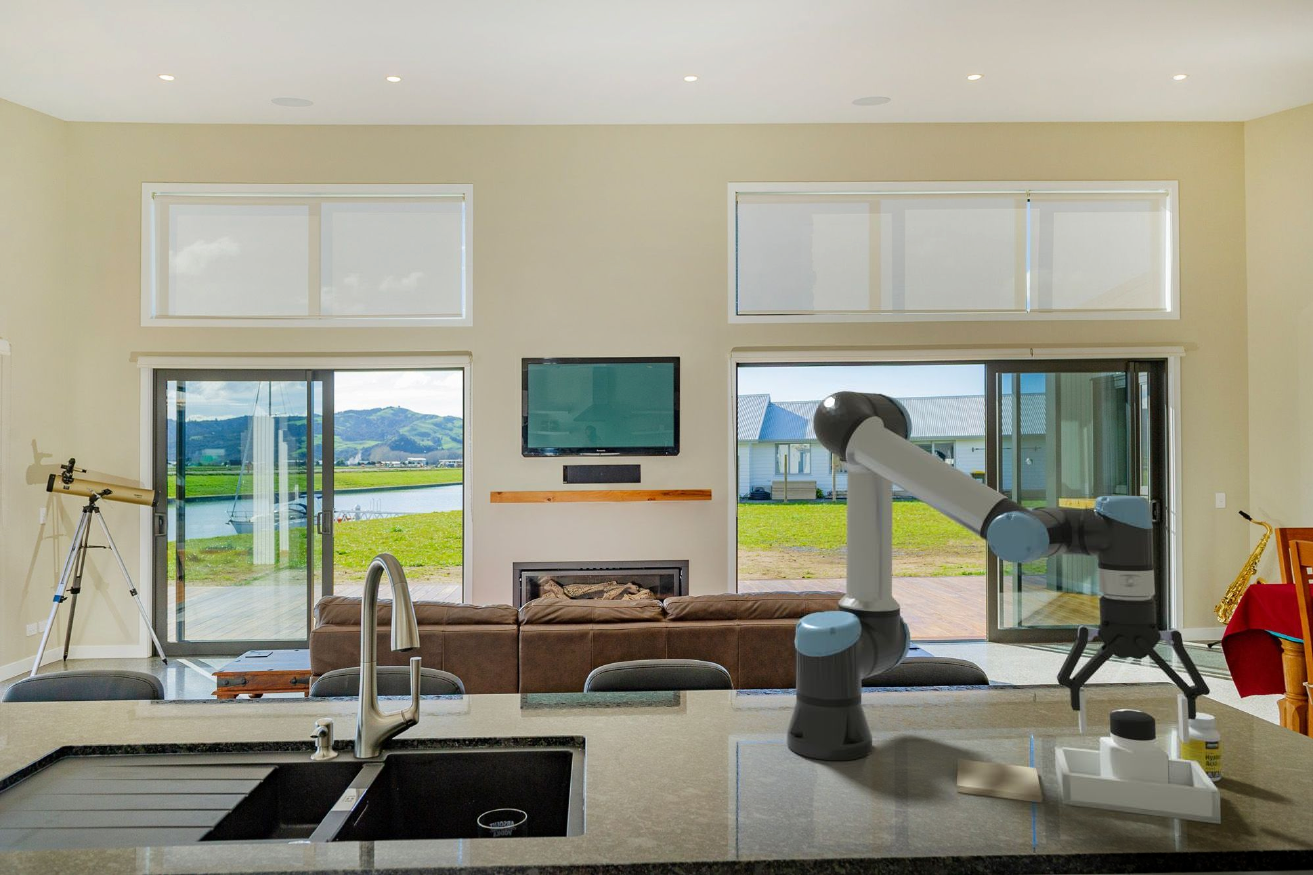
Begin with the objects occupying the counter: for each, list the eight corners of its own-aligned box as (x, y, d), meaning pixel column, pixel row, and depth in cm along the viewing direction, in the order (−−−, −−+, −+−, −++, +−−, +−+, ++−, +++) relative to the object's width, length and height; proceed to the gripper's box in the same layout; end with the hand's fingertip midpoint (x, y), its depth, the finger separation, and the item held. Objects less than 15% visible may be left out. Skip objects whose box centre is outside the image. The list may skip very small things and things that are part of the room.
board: (957, 791, 129) (957, 785, 129) (958, 765, 140) (958, 759, 140) (1041, 802, 124) (1041, 795, 124) (1036, 774, 136) (1036, 767, 136)
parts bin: (1063, 803, 124) (1062, 774, 124) (1055, 773, 136) (1054, 746, 136) (1220, 823, 117) (1219, 792, 117) (1197, 789, 129) (1196, 760, 129)
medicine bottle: (1170, 802, 122) (1168, 720, 122) (1119, 800, 123) (1117, 719, 123) (1148, 783, 129) (1146, 706, 129) (1100, 781, 130) (1098, 705, 130)
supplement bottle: (1209, 785, 130) (1207, 722, 131) (1174, 773, 135) (1172, 713, 135) (1228, 778, 133) (1227, 717, 133) (1193, 767, 138) (1192, 708, 138)
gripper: (1039, 597, 128) (1044, 735, 127) (1229, 603, 119) (1236, 752, 118) (1036, 590, 135) (1041, 721, 134) (1215, 595, 126) (1221, 736, 125)
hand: (1132, 736), depth 126 cm, fingers open, 13 cm apart
